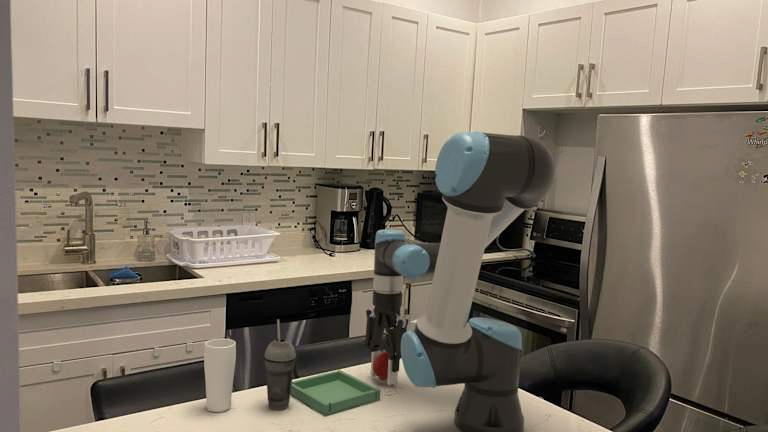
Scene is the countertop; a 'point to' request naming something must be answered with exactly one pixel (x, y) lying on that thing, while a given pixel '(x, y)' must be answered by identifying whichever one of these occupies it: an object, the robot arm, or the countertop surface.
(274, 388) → the beverage cup
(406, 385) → the countertop surface
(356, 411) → the countertop surface
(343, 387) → the green square tray
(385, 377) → the onion
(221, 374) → the drinking glass
